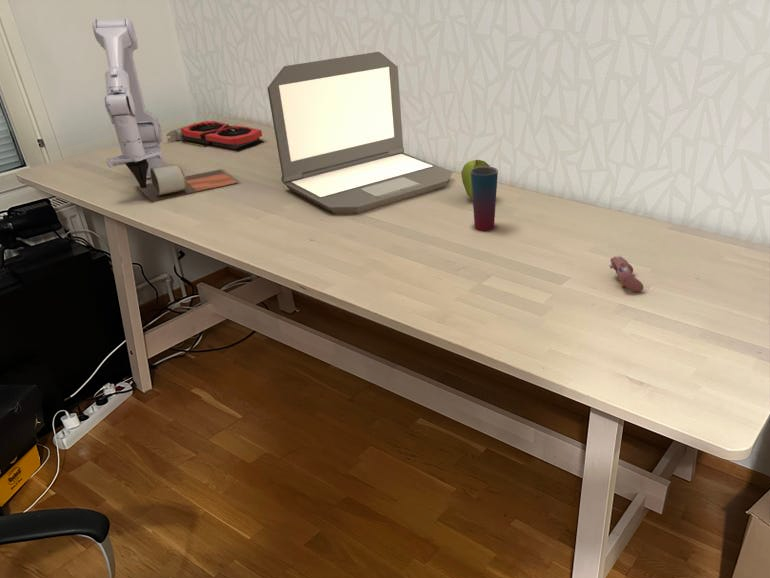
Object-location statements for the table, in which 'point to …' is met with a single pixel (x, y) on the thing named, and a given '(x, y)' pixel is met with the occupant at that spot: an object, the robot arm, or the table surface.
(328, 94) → the laptop
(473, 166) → the apple
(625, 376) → the table surface
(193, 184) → the walnut board
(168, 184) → the ceramic mug
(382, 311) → the table surface
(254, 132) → the graphics card
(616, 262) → the reddish brown lumpy piece
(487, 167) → the cup
